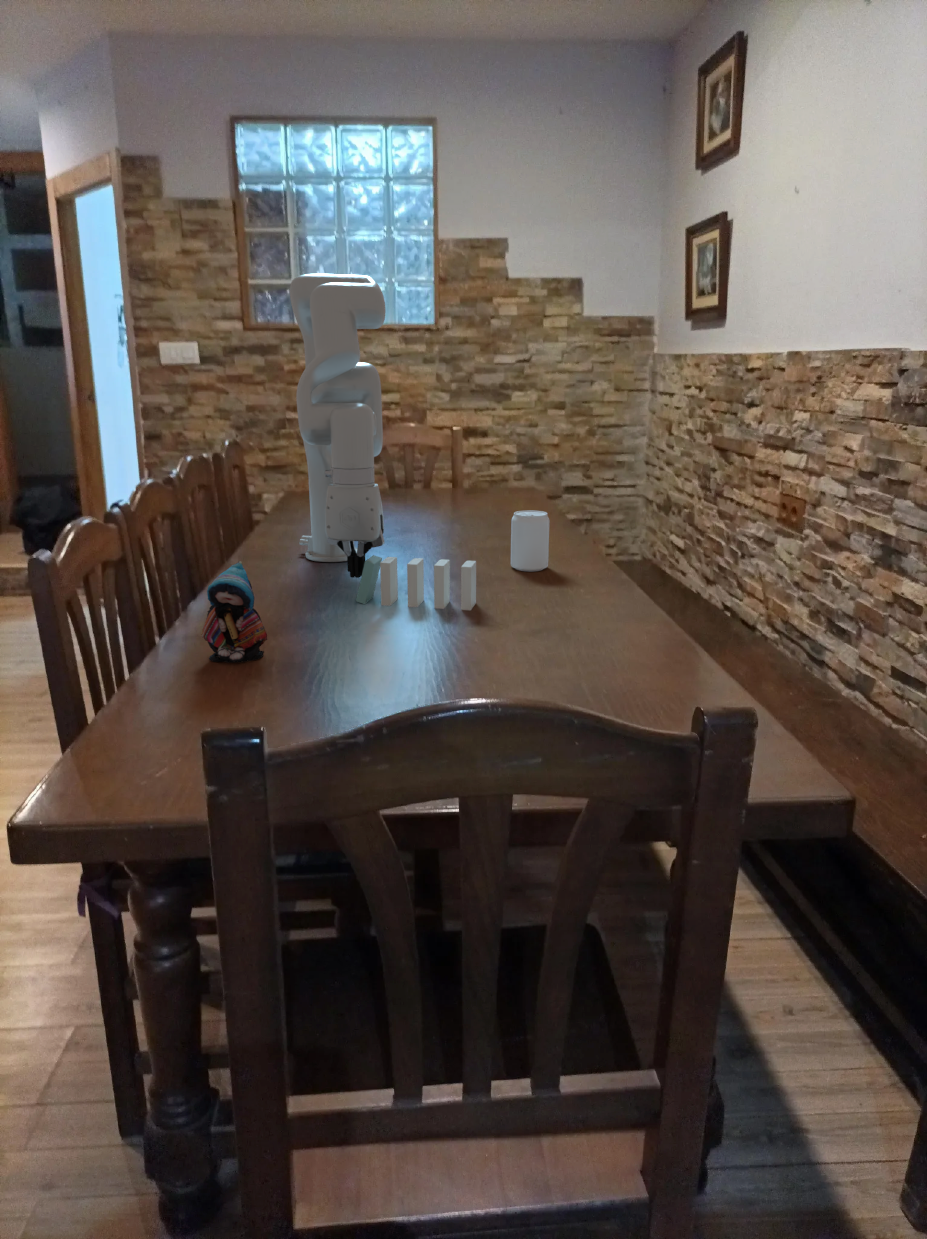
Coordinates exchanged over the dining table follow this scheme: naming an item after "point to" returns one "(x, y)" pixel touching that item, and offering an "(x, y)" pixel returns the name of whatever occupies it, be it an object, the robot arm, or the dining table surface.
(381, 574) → the domino
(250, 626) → the figurine
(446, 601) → the domino
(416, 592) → the domino
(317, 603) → the dining table surface
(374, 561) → the domino
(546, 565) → the beverage can
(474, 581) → the domino
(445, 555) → the dining table surface
